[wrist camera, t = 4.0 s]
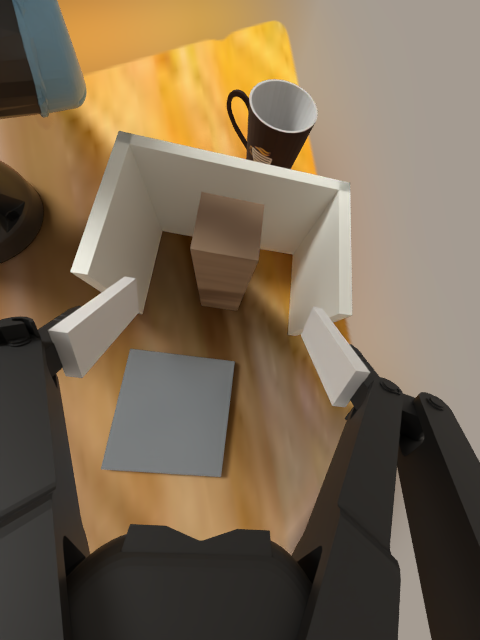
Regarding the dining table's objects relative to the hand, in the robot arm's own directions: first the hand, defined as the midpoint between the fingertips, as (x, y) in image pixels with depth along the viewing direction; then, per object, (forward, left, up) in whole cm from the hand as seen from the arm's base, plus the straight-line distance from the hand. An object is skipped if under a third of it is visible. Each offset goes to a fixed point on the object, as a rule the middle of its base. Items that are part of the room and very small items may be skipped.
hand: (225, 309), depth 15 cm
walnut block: (-5, +3, -13) cm, 14 cm away
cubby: (-6, +4, -12) cm, 15 cm away
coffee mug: (-20, +20, -13) cm, 31 cm away
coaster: (+5, -10, -12) cm, 16 cm away
